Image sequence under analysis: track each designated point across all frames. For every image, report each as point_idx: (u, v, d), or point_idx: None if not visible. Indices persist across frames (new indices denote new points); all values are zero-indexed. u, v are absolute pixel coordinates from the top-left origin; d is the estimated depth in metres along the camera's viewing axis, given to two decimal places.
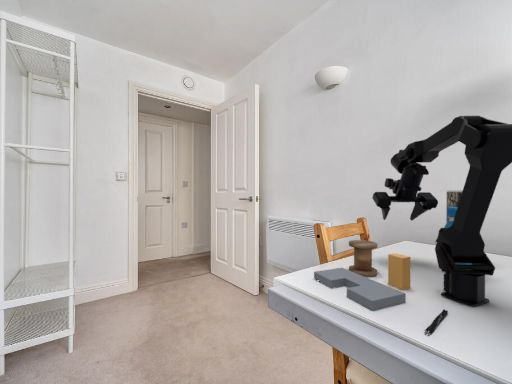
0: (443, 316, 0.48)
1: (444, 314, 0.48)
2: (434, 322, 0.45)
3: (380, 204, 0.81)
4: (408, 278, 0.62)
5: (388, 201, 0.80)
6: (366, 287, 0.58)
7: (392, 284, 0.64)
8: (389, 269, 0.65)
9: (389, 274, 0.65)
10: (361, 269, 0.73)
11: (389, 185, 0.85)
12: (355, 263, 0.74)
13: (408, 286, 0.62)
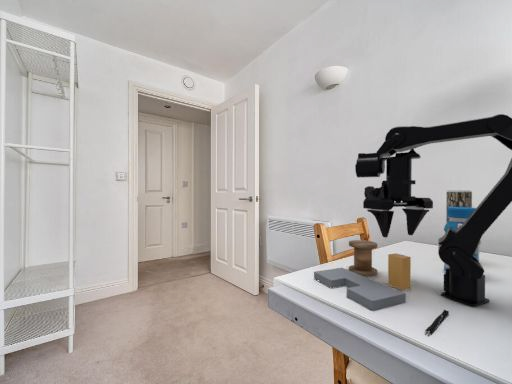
0: (444, 316, 0.48)
1: (445, 314, 0.48)
2: (435, 322, 0.45)
3: (383, 205, 0.58)
4: (408, 278, 0.62)
5: (390, 200, 0.59)
6: (366, 287, 0.58)
7: (392, 284, 0.64)
8: (389, 269, 0.65)
9: (389, 274, 0.65)
10: (361, 269, 0.73)
11: (373, 192, 0.67)
12: (355, 263, 0.74)
13: (408, 285, 0.62)
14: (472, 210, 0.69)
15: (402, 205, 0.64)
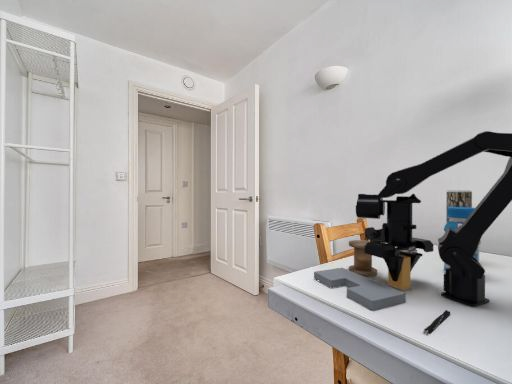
0: (444, 317, 0.48)
1: (446, 315, 0.48)
2: (434, 322, 0.45)
3: (385, 253, 0.58)
4: (408, 278, 0.62)
5: (391, 248, 0.59)
6: (366, 287, 0.58)
7: (392, 284, 0.64)
8: None
9: (389, 274, 0.65)
10: (361, 269, 0.73)
11: (374, 234, 0.66)
12: (355, 263, 0.74)
13: (408, 285, 0.62)
14: (472, 210, 0.69)
15: (403, 249, 0.64)
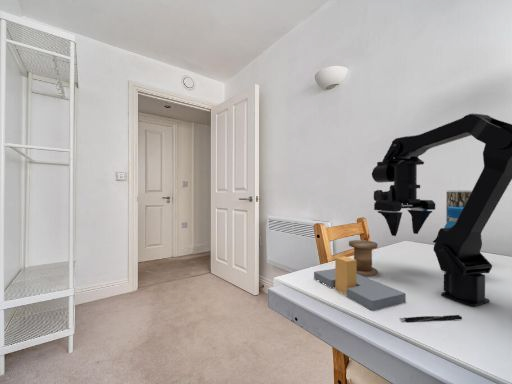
0: (447, 318, 0.47)
1: (451, 317, 0.47)
2: (423, 317, 0.47)
3: (393, 207, 0.66)
4: (354, 282, 0.59)
5: (398, 203, 0.67)
6: (366, 287, 0.58)
7: (338, 288, 0.61)
8: (336, 273, 0.62)
9: (336, 278, 0.62)
10: (361, 269, 0.73)
11: (382, 195, 0.75)
12: None
13: None
14: None
15: (408, 207, 0.72)
